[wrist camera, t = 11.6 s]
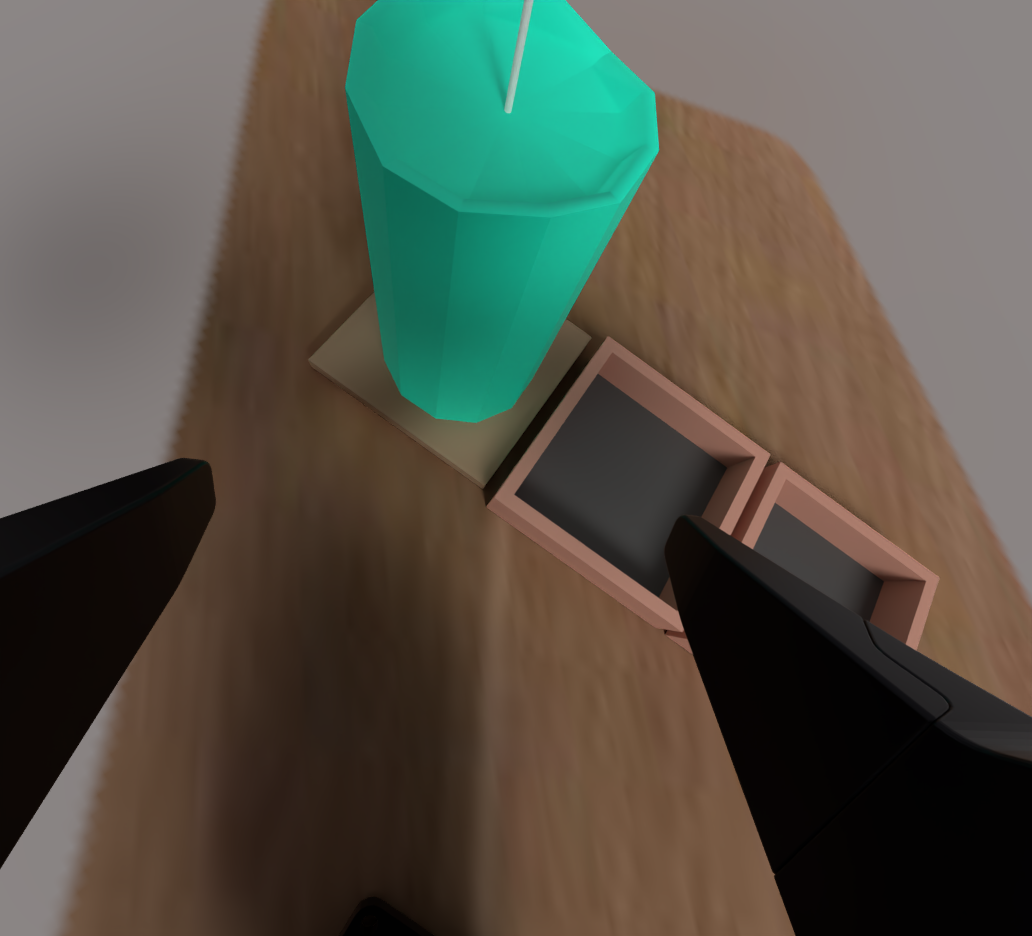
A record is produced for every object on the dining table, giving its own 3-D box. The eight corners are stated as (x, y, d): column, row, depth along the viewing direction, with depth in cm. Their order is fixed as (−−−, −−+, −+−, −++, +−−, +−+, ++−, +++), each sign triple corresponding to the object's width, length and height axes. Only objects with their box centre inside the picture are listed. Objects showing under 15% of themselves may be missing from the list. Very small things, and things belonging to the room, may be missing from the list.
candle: (549, 412, 19) (752, 147, 7) (396, 434, 17) (358, 145, 6) (518, 280, 20) (651, -124, 9) (372, 290, 19) (301, -179, 7)
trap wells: (485, 507, 18) (494, 497, 16) (590, 359, 21) (608, 335, 19) (830, 752, 18) (877, 771, 17) (892, 578, 21) (939, 577, 19)
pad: (311, 366, 18) (308, 359, 17) (437, 235, 21) (438, 225, 20) (482, 489, 18) (484, 485, 18) (586, 344, 21) (591, 337, 20)
